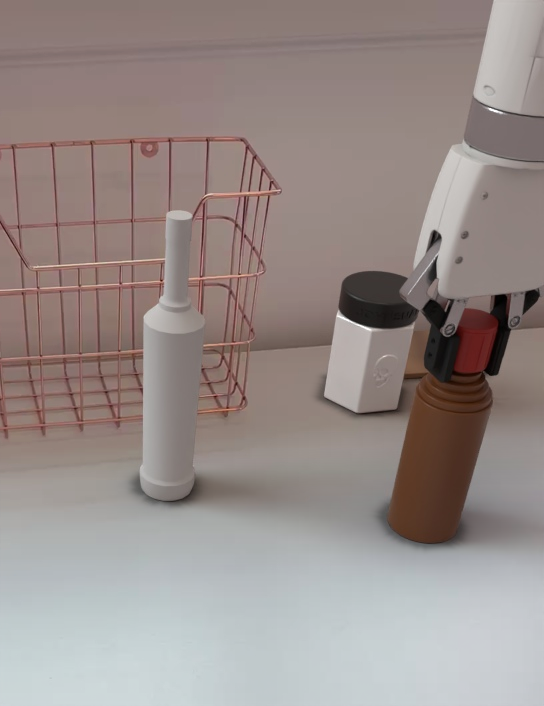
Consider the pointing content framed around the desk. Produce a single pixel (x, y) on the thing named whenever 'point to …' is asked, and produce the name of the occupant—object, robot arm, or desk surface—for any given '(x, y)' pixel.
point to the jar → (370, 342)
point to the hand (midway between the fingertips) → (460, 369)
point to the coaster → (417, 355)
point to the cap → (475, 340)
